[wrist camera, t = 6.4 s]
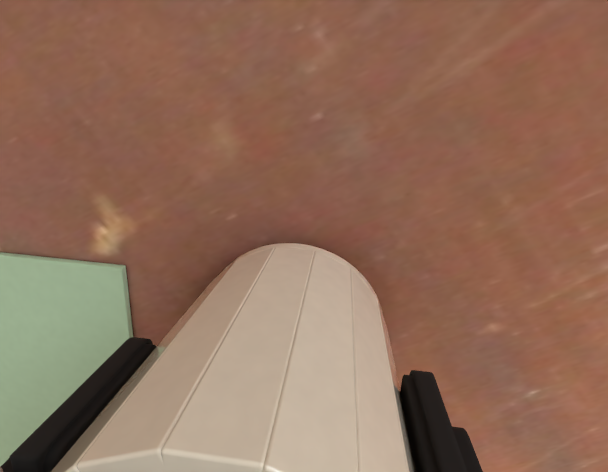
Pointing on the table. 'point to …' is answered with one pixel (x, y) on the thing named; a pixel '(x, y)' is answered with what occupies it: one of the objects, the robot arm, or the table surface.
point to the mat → (53, 335)
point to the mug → (262, 379)
